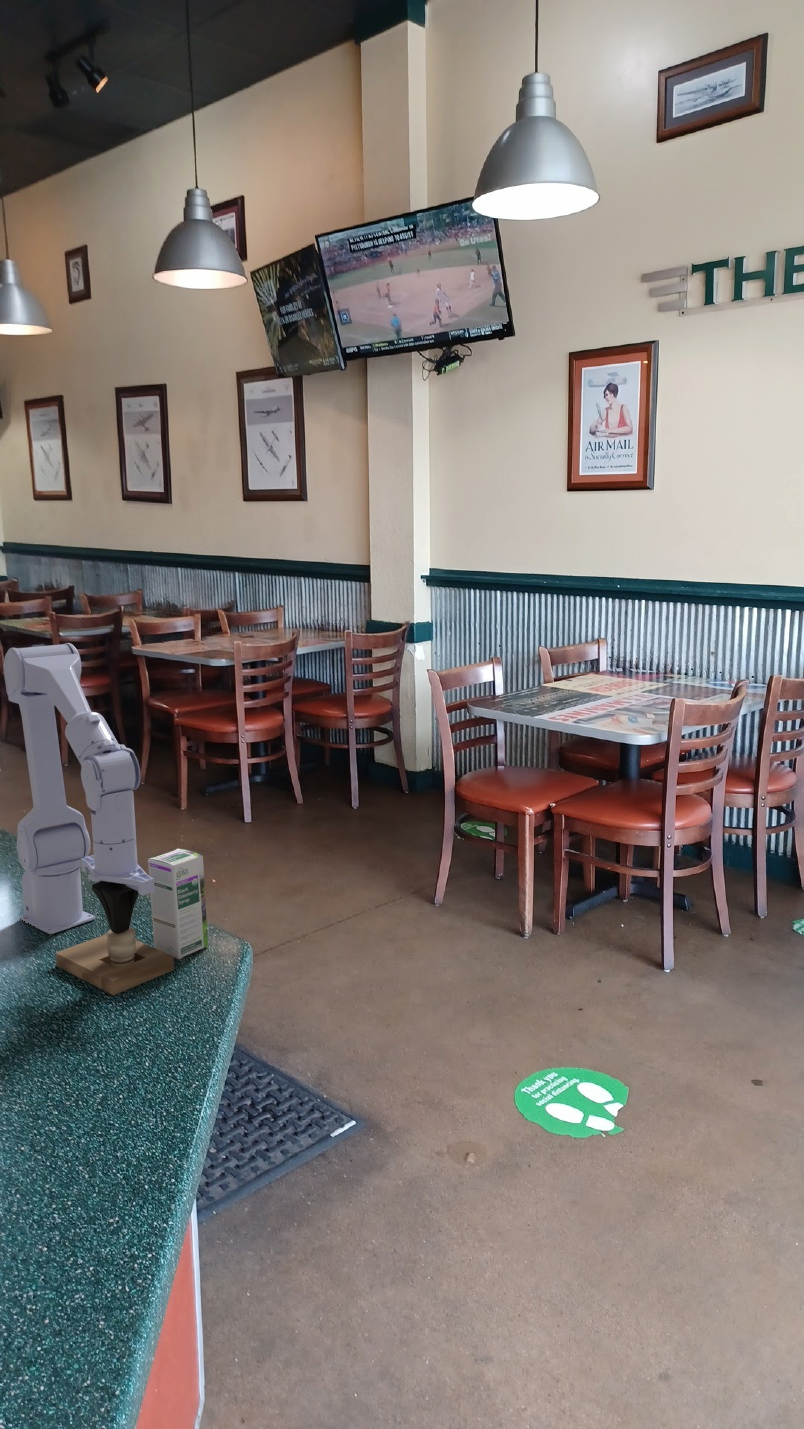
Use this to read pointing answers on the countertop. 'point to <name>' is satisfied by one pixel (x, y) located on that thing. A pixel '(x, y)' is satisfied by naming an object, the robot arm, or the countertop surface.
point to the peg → (121, 947)
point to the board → (97, 969)
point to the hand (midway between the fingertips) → (120, 930)
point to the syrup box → (178, 903)
